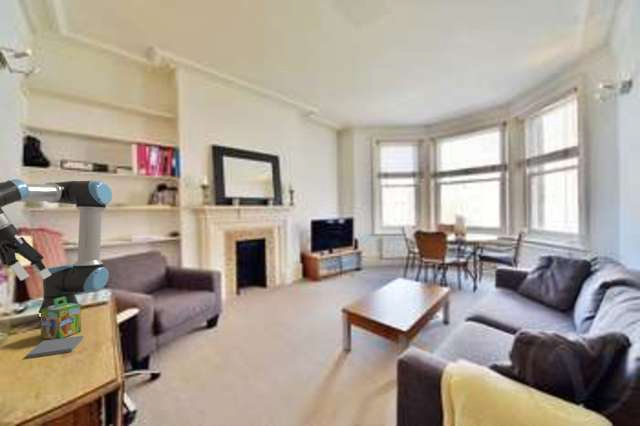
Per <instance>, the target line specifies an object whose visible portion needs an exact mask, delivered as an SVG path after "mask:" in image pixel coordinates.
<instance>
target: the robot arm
mask: <svg viewBox="0 0 640 426" xmlns="http://www.w3.org/2000/svg"><path fill="white" fill-rule="evenodd" d="M112 199H113V194H112V189H111V188H110V187H109V185H108V183H106V182H104V181H101V180H70V181H59V182H51V181H50V182H46V183H45V184H44V183H43V184H41V183H40V184H39V183H38V184H37V183H35V184H34V183H27V182H25V181H23V180H21V179H18V178H17V179H9V180H7V181H4V182H3V181H2V182H1V181H0V261H1V263H2V265H4V266H7V267H9V268H10V269H11V271H12V272H13V273H14V274H15V275H16V276H17V278H18V280H19V281H24V280H25V279H27V278H29V277H30V275H29V273H28V272H27V271H26V270H25V268H24V267H23V266H22V264H21V262H20V261H19V260H18V259H17V257H16V256H17V255H16V254H19V255H20V256H21V257H23V258H24V259H26V260H27V261H28V262H29V263H30V266H32V267H33V269H34V270H35V271H36V273H37V274H38V275H39V277H40V278H41V280H42V286H43V287H42V291H43V292H42V295H43V296H42V297H43V299H42V302H41V305H40V307H39V310H38V312H39V313H41V309H43V308H46V307H50V306H53V305H54V299H57V298H60V297H66V301H67V303H75V304H79V302H78V299H77V297H76V293H95V292H99V291H101V290H102V289H103V288H104V287H105V286H106V285H107V283H108V281H109V276H110V275H109V274H110V273H109V270H108V268H106V267H104V262H102V260H101V259H100V256H101V238H102V236H101V235H102V215H103V214H102V212H103V211H104V210H106V209H107V208H106V207H107V205H109V204H110V203H111V202H112ZM16 202H18V203H19V202H24V203H25V202H47V203H48V204H66V205H67V204H68V205H75V208H76V209H77V210H78V211H79V219H78V220H79V225H78V242H77V243H78V244H77V245H78V246H77V261H76V262H75V263H71V264H70V263H69V264H64V265H58V266H52V267H48V268H47V266H46V265H45V263H43V261H42V260H43V259H44V258H45V257H44V256H43V255H42V254H41V253H40V252H39V251H38V250H37V249H35V248H34V247H33V246H32V245H31V244H30V243H29V242H27V240H26V239H25V238H24V237H22V236H20V237H19V238H17V237H16V235H18V233H19V231H18V229H17V228H16V227H15V225H14V224H12V221H11V219H10V218H9V217H8V215H7V214H6V212H5V211H4V209H2V208H3V207H5V206H8V205H11V204H13V203H16ZM61 303H63V301H62V300H60V301H58V304H61Z"/></svg>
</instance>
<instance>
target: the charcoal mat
mask: <svg viewBox="0 0 640 426" xmlns="http://www.w3.org/2000/svg"><path fill="white" fill-rule="evenodd" d="M83 340H84V336H83V335H78V336H77V335H76V336H67V337H65V338H61V339H45V340H42V341H41V342H40V343H39V344H37V345H36V346H35V347H34V348H32V350H30V351H29V352H28V353H27V354H26V359H31V358H39V357H44V356H52V355H59V354H65V353H72V352H73V351H74V349H75V348H76V347H77V346H79V345H78V344H80V343H81V342H82V341H83Z"/></svg>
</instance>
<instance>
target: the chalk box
mask: <svg viewBox="0 0 640 426" xmlns="http://www.w3.org/2000/svg"><path fill="white" fill-rule="evenodd" d="M60 300H62V301H63V303H61V304H58V301H60ZM81 331H82V304H80V303H78V304H75V303H67V301H66V297H60V298H57V299H54V305H53V306H50V307H46V308H43V309H41V318H40V339H42V340H43V339H45V340H53V339H61V338H68V337H71V336H73V335H76V334H79V333H81Z"/></svg>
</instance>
